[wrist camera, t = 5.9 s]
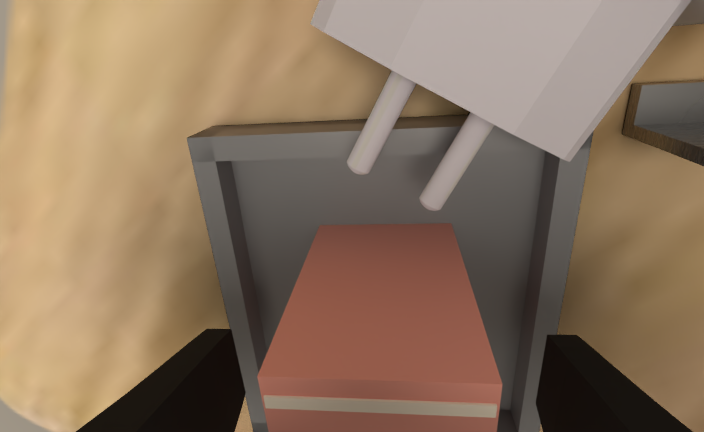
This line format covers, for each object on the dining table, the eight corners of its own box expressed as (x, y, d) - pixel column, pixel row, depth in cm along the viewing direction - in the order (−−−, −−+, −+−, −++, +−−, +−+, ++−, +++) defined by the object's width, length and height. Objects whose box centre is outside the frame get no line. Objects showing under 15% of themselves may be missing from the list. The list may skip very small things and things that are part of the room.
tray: (522, 408, 14) (536, 448, 12) (267, 398, 15) (254, 434, 13) (567, 110, 10) (595, 121, 8) (213, 125, 11) (186, 137, 9)
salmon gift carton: (445, 346, 12) (482, 557, 7) (331, 343, 13) (289, 542, 8) (451, 223, 11) (503, 386, 6) (319, 225, 11) (256, 378, 6)
